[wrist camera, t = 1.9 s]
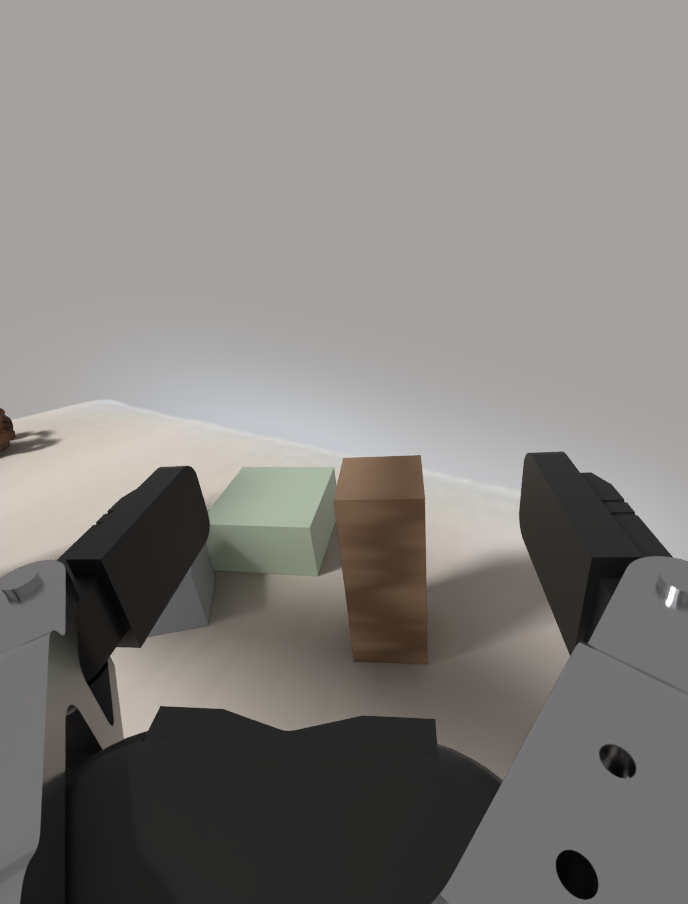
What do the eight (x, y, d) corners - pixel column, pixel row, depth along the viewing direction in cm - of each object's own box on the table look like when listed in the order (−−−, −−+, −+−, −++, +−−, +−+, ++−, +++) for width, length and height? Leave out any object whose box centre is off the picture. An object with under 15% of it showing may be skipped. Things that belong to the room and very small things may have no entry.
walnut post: (354, 661, 27) (333, 500, 22) (359, 605, 31) (343, 458, 26) (427, 663, 26) (424, 498, 21) (423, 606, 30) (420, 455, 25)
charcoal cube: (135, 639, 30) (111, 586, 28) (153, 588, 35) (133, 539, 32) (208, 626, 31) (190, 573, 28) (216, 577, 35) (201, 528, 33)
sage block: (213, 572, 36) (198, 523, 34) (252, 510, 44) (242, 467, 42) (318, 578, 34) (309, 527, 32) (339, 512, 42) (333, 467, 40)
